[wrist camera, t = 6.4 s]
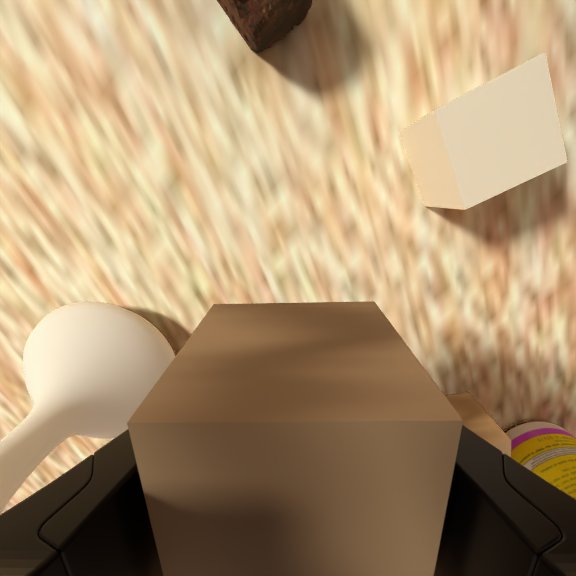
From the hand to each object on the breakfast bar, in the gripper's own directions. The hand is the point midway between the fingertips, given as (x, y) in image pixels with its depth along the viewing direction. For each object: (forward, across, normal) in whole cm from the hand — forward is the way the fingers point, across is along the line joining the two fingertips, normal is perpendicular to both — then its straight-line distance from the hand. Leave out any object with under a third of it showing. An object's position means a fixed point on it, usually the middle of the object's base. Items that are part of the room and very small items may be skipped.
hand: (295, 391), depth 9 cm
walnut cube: (+1, 0, 0) cm, 1 cm away
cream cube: (+13, -10, -8) cm, 18 cm away
